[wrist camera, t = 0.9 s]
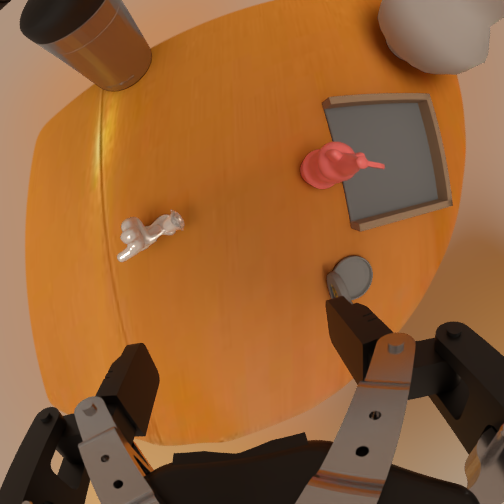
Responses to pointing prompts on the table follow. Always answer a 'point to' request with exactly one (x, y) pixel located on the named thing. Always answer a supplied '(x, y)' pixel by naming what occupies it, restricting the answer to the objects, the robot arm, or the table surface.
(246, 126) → the table surface
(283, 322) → the table surface
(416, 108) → the tray
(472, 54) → the vase
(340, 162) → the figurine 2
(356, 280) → the pocket watch
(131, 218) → the figurine
